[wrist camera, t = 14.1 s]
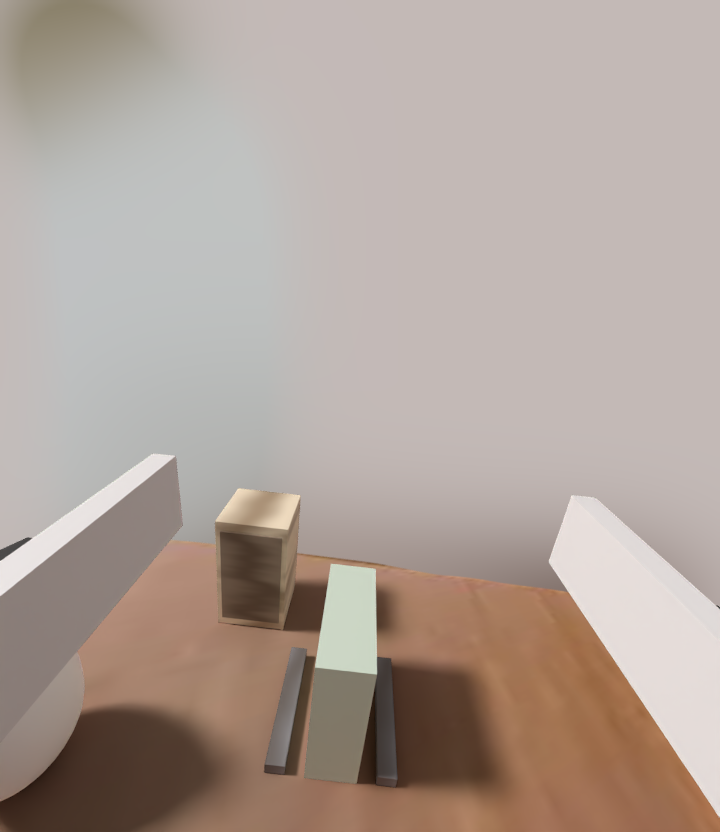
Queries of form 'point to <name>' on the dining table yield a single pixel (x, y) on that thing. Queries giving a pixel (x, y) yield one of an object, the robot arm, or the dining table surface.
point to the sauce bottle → (42, 730)
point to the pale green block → (343, 676)
